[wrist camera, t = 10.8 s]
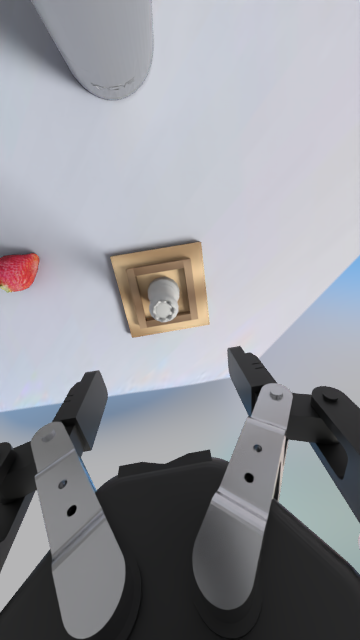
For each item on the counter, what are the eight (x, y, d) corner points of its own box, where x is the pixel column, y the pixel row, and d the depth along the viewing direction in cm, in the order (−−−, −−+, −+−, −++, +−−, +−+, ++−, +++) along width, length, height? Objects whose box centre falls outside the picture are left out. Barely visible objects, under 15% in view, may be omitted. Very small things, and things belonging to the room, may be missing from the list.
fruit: (55, 269, 29) (35, 276, 24) (24, 294, 30) (-1, 305, 25) (29, 241, 27) (2, 243, 23) (-2, 269, 28) (-35, 276, 23)
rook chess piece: (168, 269, 29) (170, 282, 21) (185, 296, 30) (192, 317, 23) (141, 286, 29) (134, 305, 22) (159, 312, 31) (158, 337, 23)
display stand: (112, 256, 28) (108, 258, 26) (199, 241, 29) (202, 242, 26) (133, 334, 33) (131, 341, 31) (208, 321, 33) (211, 327, 31)
